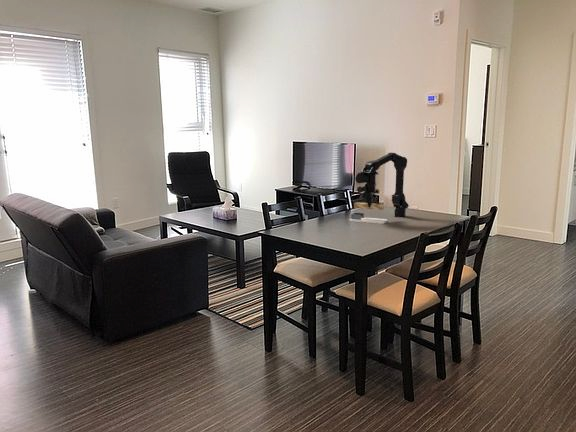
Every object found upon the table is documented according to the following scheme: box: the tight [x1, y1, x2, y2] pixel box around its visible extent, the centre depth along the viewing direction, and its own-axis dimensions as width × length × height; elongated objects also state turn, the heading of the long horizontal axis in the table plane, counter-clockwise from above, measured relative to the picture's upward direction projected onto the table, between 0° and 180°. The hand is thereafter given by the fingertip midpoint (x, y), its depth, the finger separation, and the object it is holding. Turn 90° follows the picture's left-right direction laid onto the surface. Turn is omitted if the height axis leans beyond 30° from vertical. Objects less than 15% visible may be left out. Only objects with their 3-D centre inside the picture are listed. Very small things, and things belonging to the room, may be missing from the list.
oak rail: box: [353, 201, 385, 211], centre depth 294 cm, size 18×4×3 cm, turn 61°
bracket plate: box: [349, 212, 388, 225], centre depth 295 cm, size 22×9×4 cm, turn 63°
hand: (370, 206), depth 293 cm, fingers closed on oak rail, 4 cm apart
